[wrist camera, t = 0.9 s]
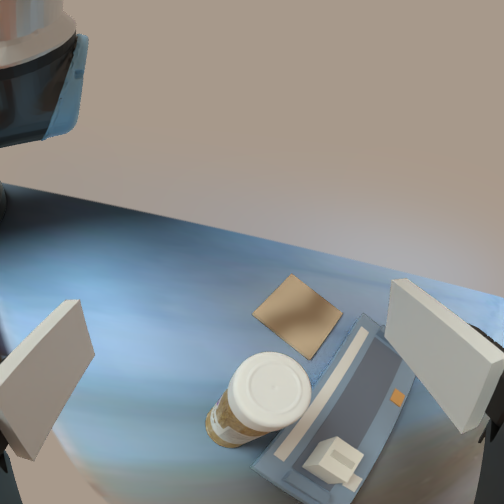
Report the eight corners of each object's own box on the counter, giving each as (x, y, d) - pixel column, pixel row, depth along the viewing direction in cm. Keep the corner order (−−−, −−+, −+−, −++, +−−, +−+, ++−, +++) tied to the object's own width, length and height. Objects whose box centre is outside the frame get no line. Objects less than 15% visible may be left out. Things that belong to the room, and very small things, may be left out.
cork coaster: (251, 314, 34) (252, 313, 34) (290, 274, 39) (291, 273, 39) (309, 360, 32) (310, 359, 32) (341, 314, 37) (342, 313, 37)
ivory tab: (301, 466, 23) (319, 464, 20) (319, 441, 25) (338, 435, 22) (328, 484, 22) (348, 482, 19) (344, 459, 24) (365, 454, 21)
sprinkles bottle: (213, 396, 27) (247, 338, 18) (259, 411, 27) (320, 363, 18) (197, 439, 24) (222, 411, 14) (246, 455, 24) (305, 436, 14)
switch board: (249, 467, 24) (257, 466, 22) (357, 318, 37) (367, 308, 36) (331, 519, 21) (344, 521, 19) (414, 363, 35) (426, 355, 33)
